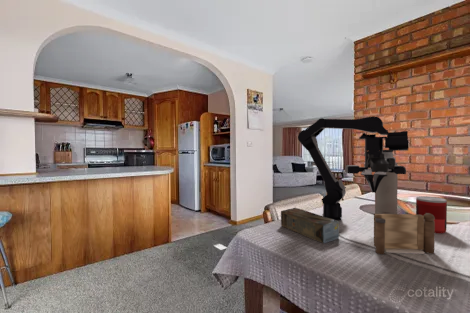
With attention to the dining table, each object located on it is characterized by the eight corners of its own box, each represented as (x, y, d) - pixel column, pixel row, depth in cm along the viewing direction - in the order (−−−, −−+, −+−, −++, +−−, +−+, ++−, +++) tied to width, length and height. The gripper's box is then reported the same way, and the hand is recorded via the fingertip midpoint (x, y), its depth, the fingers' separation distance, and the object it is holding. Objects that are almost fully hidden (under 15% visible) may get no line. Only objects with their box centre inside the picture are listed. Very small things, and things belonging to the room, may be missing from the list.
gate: (420, 247, 62) (420, 214, 62) (423, 249, 61) (423, 216, 60) (373, 245, 63) (373, 213, 63) (376, 247, 62) (376, 214, 62)
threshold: (386, 252, 61) (386, 250, 61) (380, 248, 64) (380, 246, 64) (424, 253, 60) (424, 252, 60) (417, 249, 63) (417, 247, 63)
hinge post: (425, 253, 60) (426, 214, 60) (421, 249, 63) (421, 211, 62) (436, 254, 60) (436, 214, 59) (431, 250, 62) (431, 212, 62)
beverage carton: (323, 245, 67) (323, 223, 67) (279, 226, 83) (279, 209, 83) (339, 239, 71) (339, 218, 71) (295, 223, 88) (294, 206, 87)
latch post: (376, 254, 60) (377, 220, 60) (374, 250, 62) (374, 217, 62) (386, 255, 60) (386, 220, 59) (383, 251, 62) (383, 218, 62)
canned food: (452, 234, 73) (452, 201, 73) (424, 233, 75) (424, 200, 74) (436, 226, 81) (436, 196, 80) (411, 225, 82) (411, 195, 82)
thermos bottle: (372, 214, 96) (372, 149, 96) (378, 211, 102) (378, 149, 101) (394, 218, 90) (395, 149, 90) (399, 214, 96) (399, 149, 95)
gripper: (351, 151, 78) (351, 195, 79) (414, 150, 73) (413, 198, 74) (344, 151, 89) (344, 190, 89) (399, 150, 84) (399, 192, 84)
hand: (373, 192), depth 84 cm, fingers closed
